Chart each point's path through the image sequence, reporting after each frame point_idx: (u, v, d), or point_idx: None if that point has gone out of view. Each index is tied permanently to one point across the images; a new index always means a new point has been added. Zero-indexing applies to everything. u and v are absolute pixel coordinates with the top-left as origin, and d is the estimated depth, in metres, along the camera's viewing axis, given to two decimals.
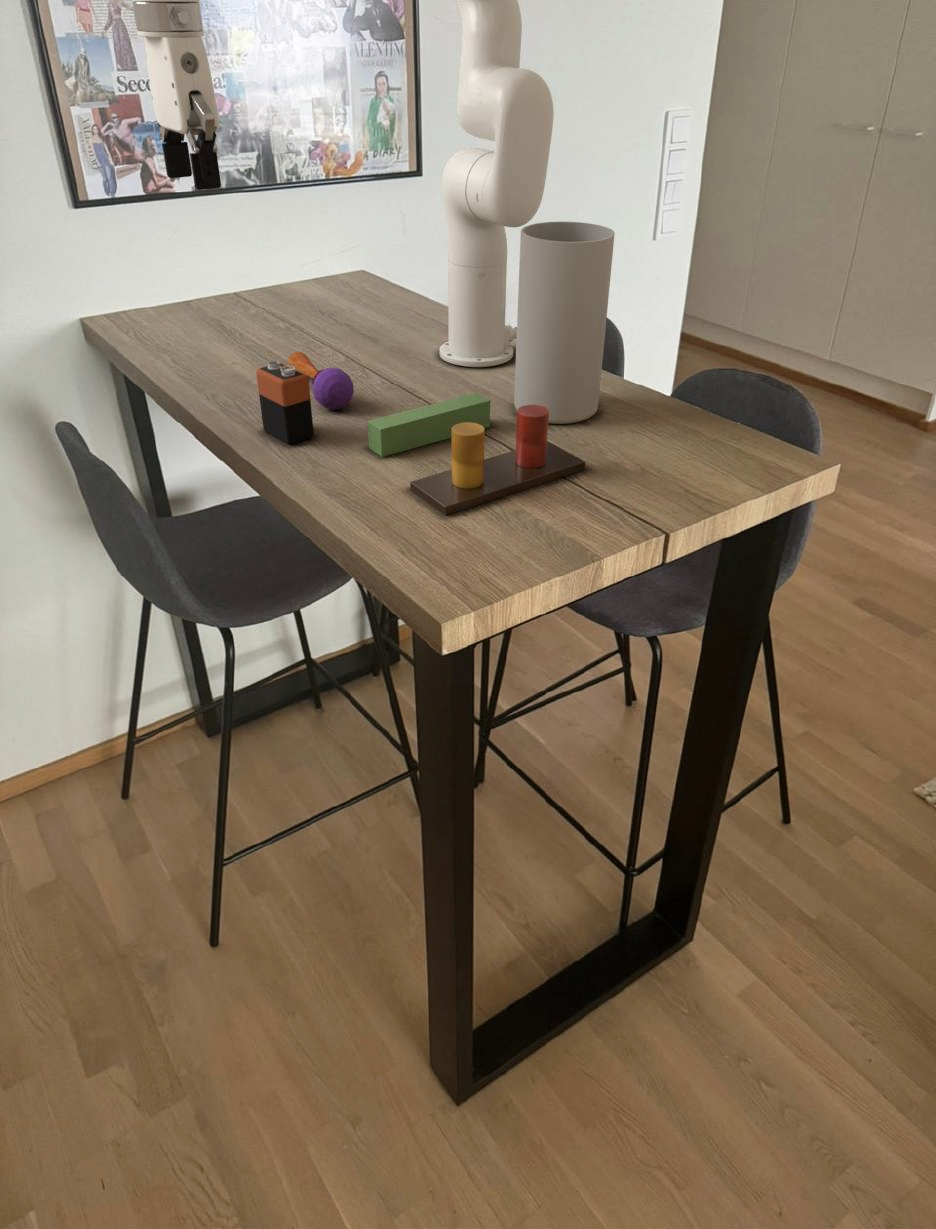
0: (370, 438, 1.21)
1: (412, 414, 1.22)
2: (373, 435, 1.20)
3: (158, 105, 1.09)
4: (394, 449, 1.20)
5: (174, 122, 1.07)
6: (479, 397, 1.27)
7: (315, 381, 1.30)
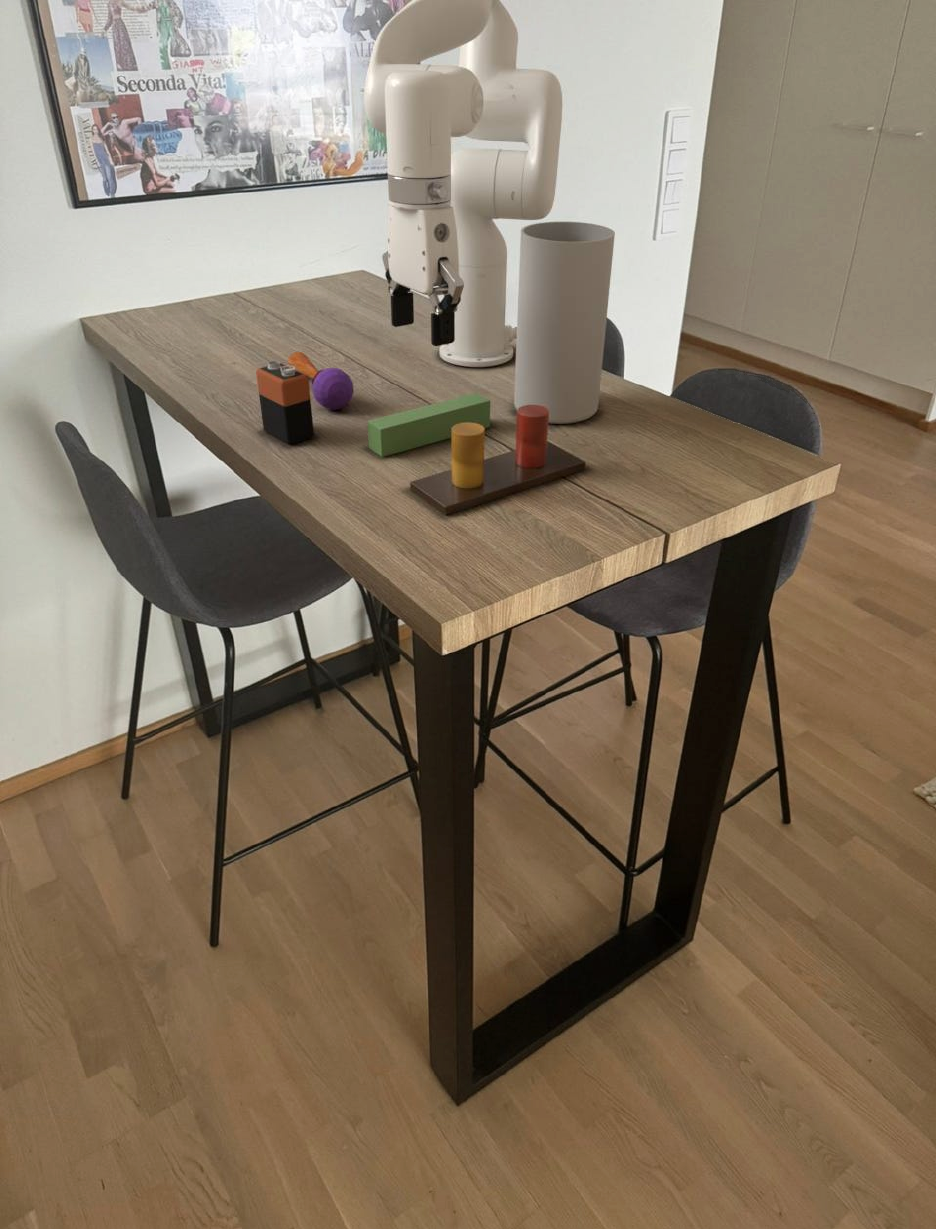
0: (370, 438, 1.21)
1: (412, 414, 1.22)
2: (373, 435, 1.20)
3: (397, 265, 1.12)
4: (394, 449, 1.20)
5: (416, 284, 1.10)
6: (479, 397, 1.27)
7: (315, 381, 1.30)
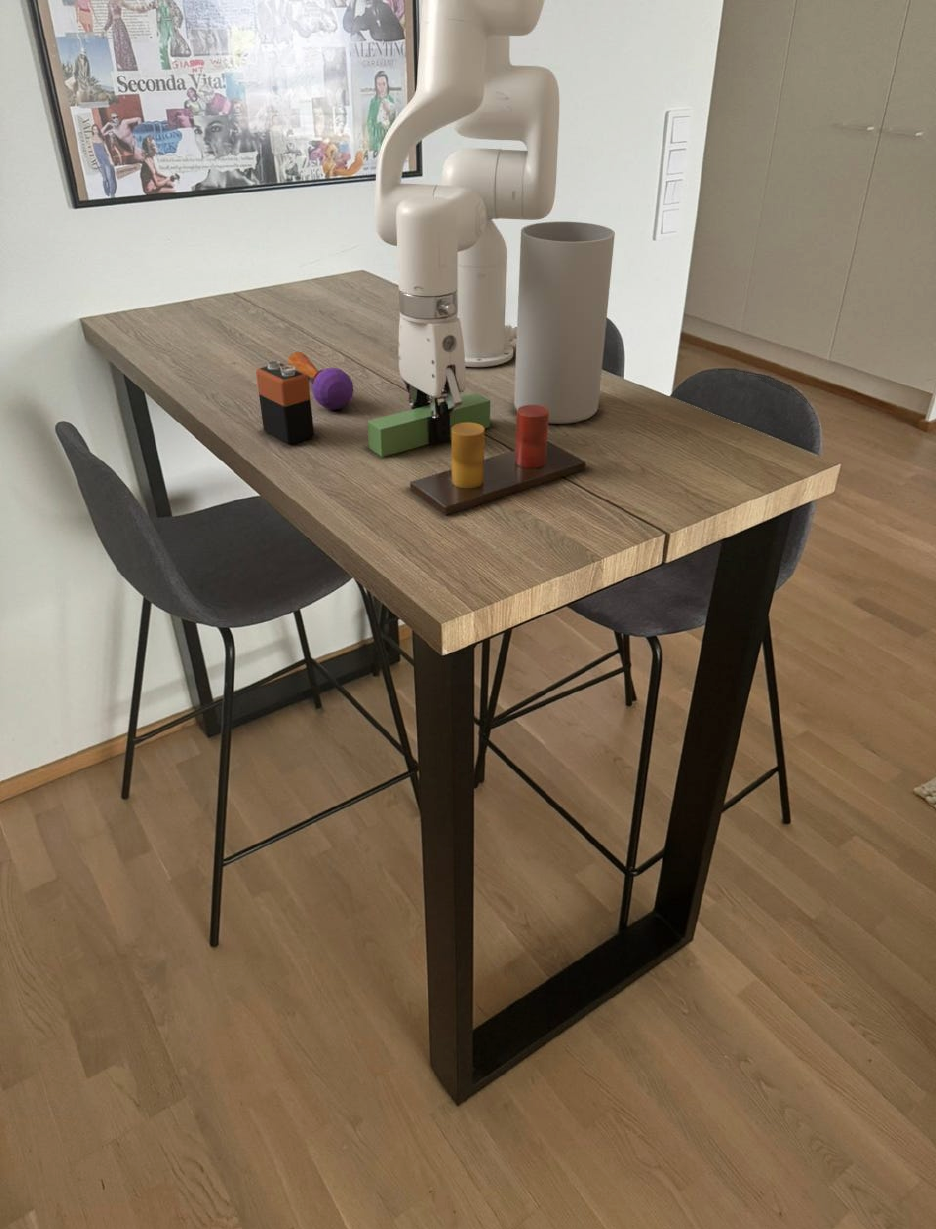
0: (370, 438, 1.21)
1: (412, 414, 1.22)
2: (373, 435, 1.20)
3: (408, 368, 1.20)
4: (394, 449, 1.20)
5: (426, 388, 1.18)
6: (479, 397, 1.27)
7: (315, 381, 1.30)
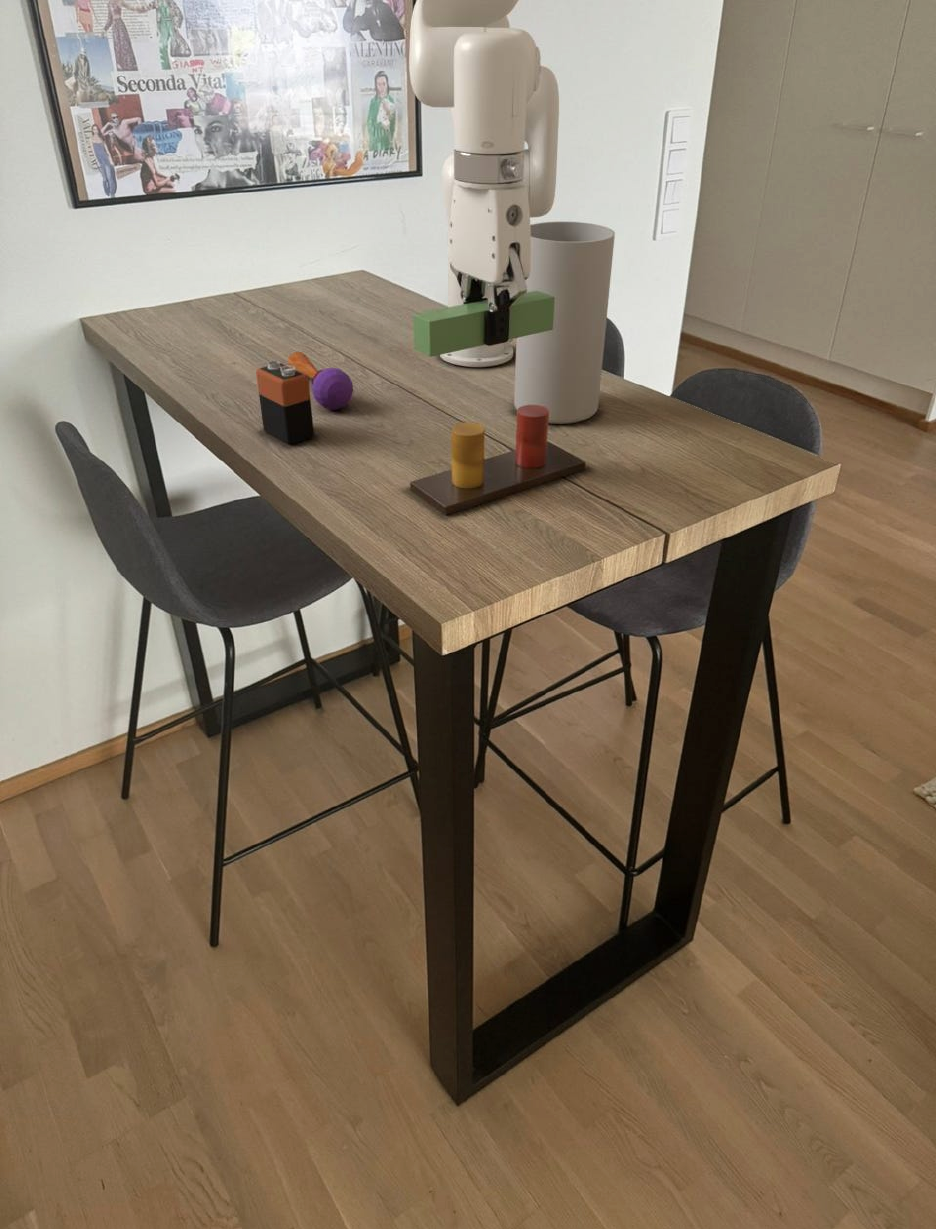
0: (416, 335, 1.02)
1: (465, 308, 1.03)
2: (420, 331, 1.01)
3: (461, 252, 1.01)
4: (444, 348, 1.02)
5: (484, 273, 0.99)
6: (542, 294, 1.08)
7: (314, 381, 1.30)
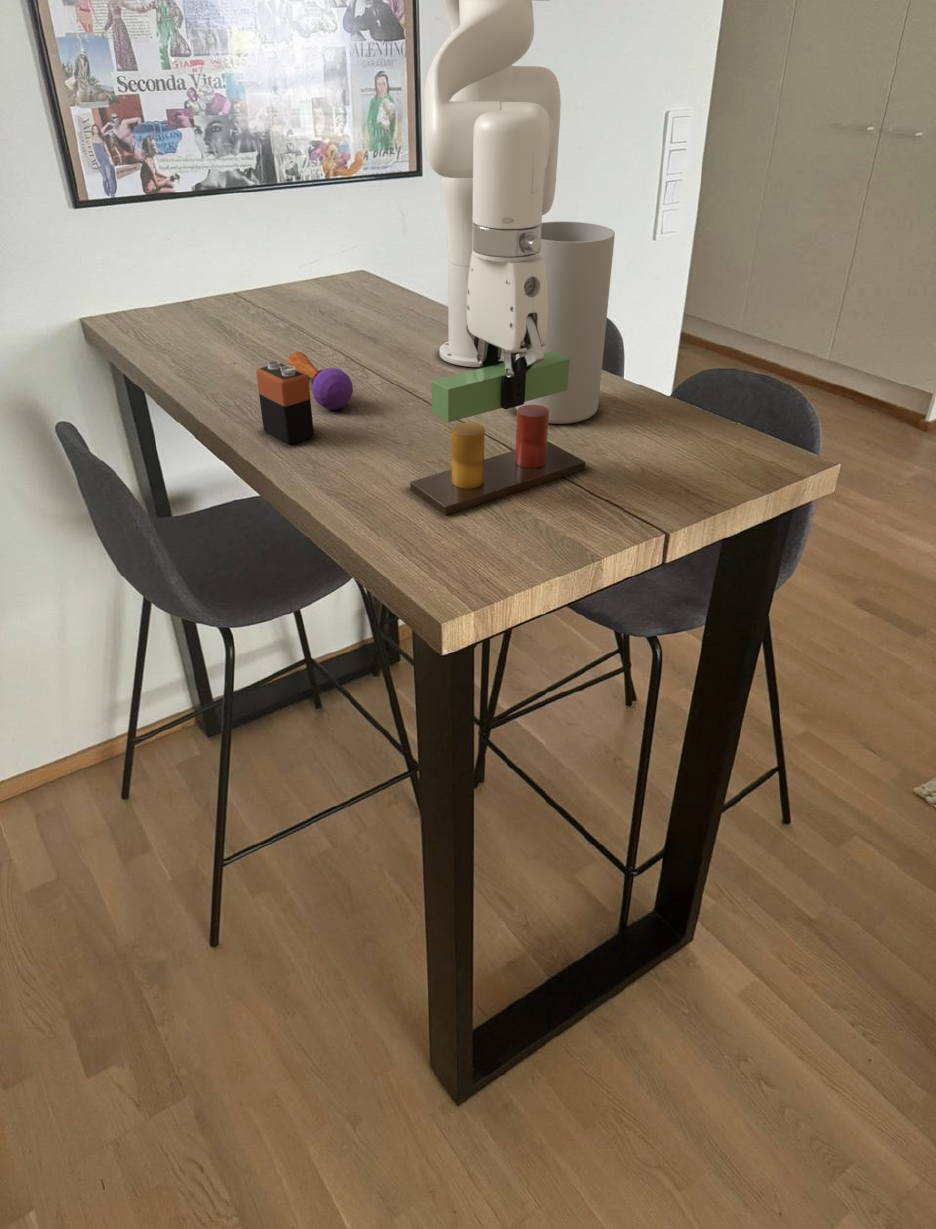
0: (434, 401, 1.04)
1: (482, 373, 1.05)
2: (438, 397, 1.03)
3: (478, 318, 1.03)
4: (462, 413, 1.03)
5: (501, 341, 1.01)
6: (556, 356, 1.10)
7: (314, 381, 1.30)
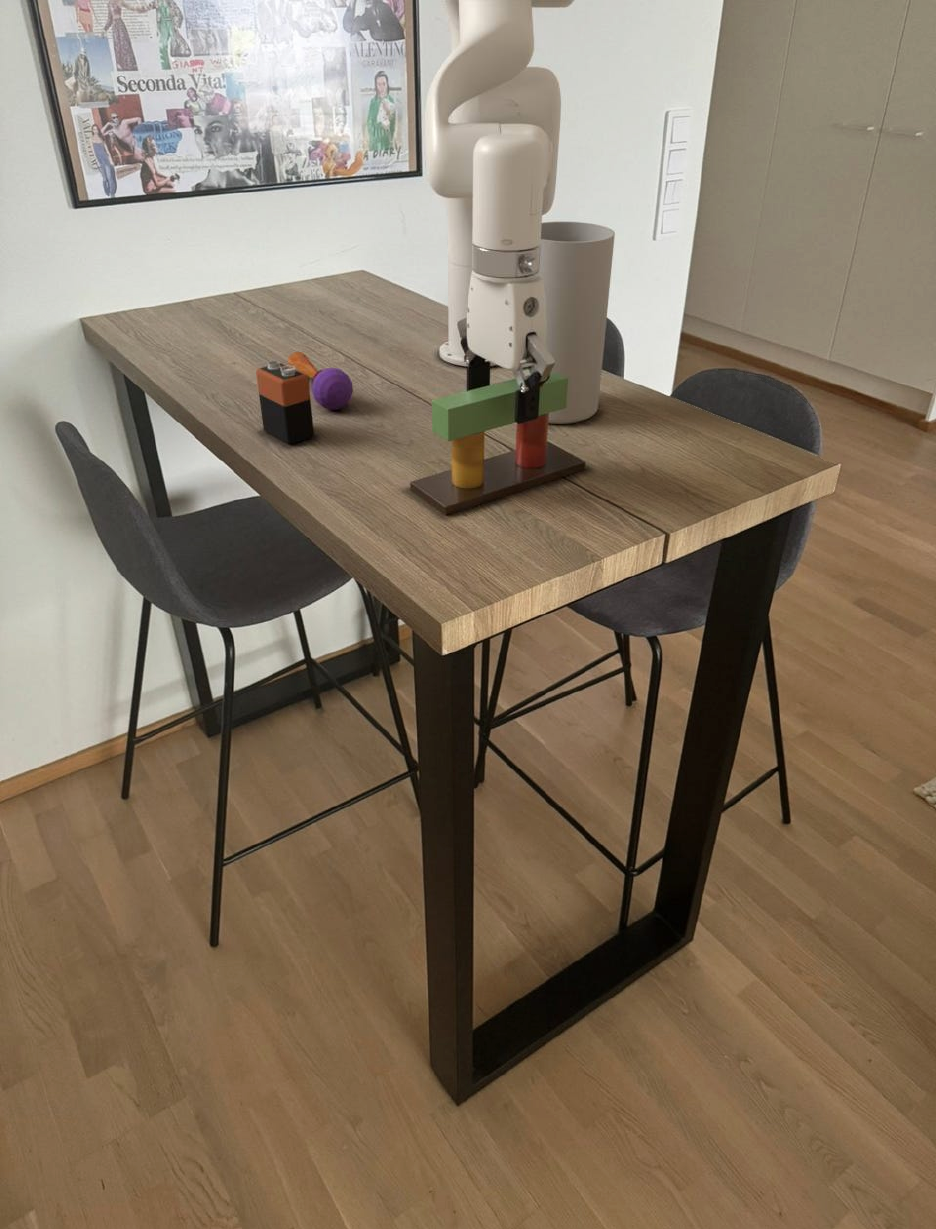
0: (434, 420, 1.05)
1: (482, 392, 1.06)
2: (439, 416, 1.04)
3: (478, 337, 1.04)
4: (462, 432, 1.05)
5: (500, 359, 1.02)
6: (555, 374, 1.11)
7: (314, 381, 1.30)
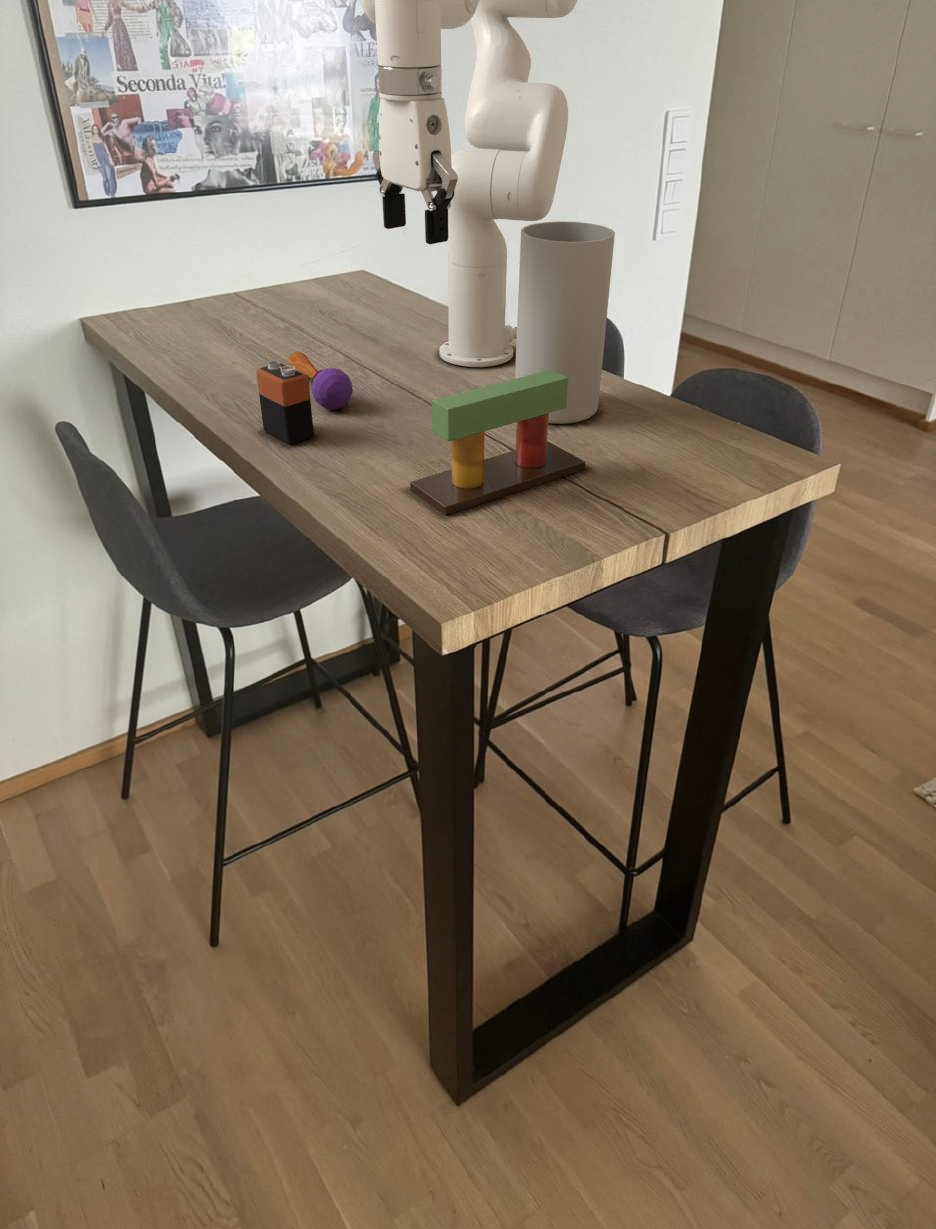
0: (434, 420, 1.05)
1: (482, 392, 1.06)
2: (439, 416, 1.04)
3: (389, 162, 1.12)
4: (462, 432, 1.05)
5: (409, 180, 1.10)
6: (555, 374, 1.11)
7: (314, 381, 1.30)
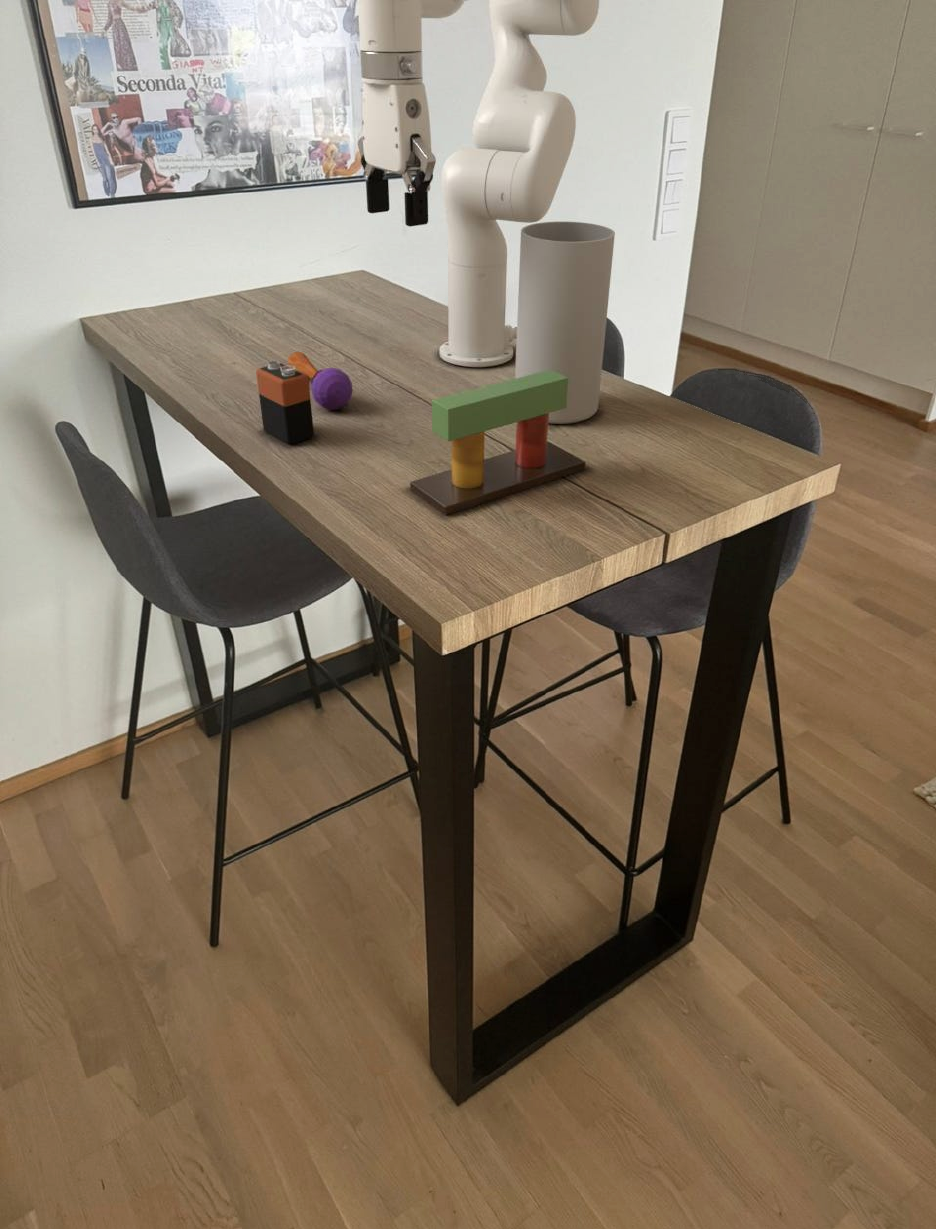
0: (434, 420, 1.05)
1: (482, 392, 1.06)
2: (439, 416, 1.04)
3: (372, 146, 1.15)
4: (462, 432, 1.05)
5: (390, 163, 1.13)
6: (555, 374, 1.11)
7: (314, 381, 1.30)
